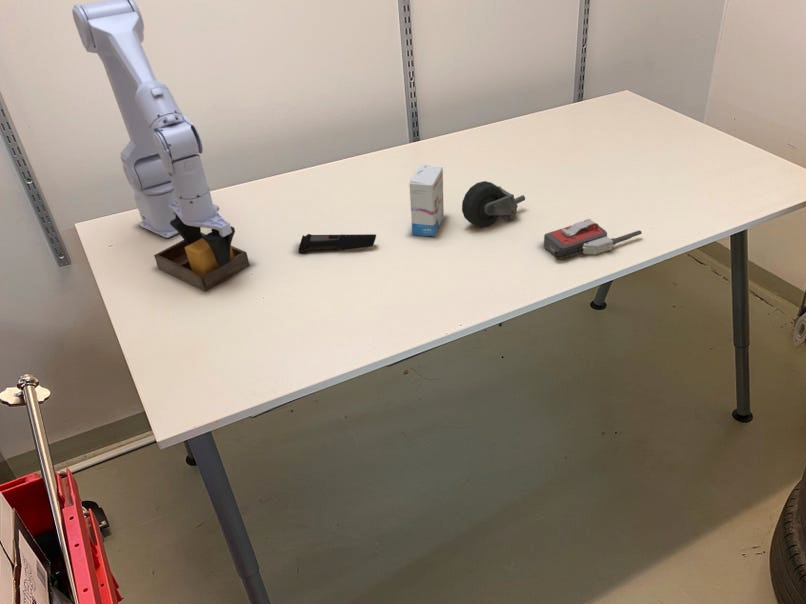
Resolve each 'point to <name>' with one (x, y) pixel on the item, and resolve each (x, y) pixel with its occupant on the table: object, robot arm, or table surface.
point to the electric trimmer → (336, 241)
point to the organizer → (179, 266)
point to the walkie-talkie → (581, 240)
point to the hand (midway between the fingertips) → (211, 257)
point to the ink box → (426, 200)
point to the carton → (202, 257)
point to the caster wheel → (488, 204)
